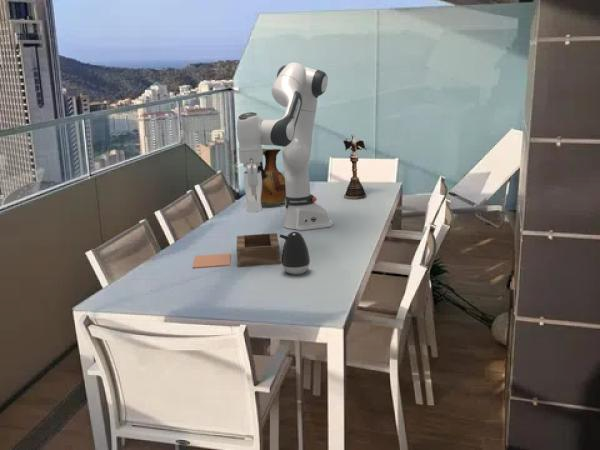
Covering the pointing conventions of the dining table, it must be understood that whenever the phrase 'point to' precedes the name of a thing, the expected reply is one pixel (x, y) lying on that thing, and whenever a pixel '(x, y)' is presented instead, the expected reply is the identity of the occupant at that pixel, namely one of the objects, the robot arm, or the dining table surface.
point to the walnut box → (258, 249)
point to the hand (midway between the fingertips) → (254, 193)
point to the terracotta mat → (212, 260)
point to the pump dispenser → (295, 254)
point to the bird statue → (354, 170)
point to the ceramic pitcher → (271, 179)
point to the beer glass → (253, 201)
